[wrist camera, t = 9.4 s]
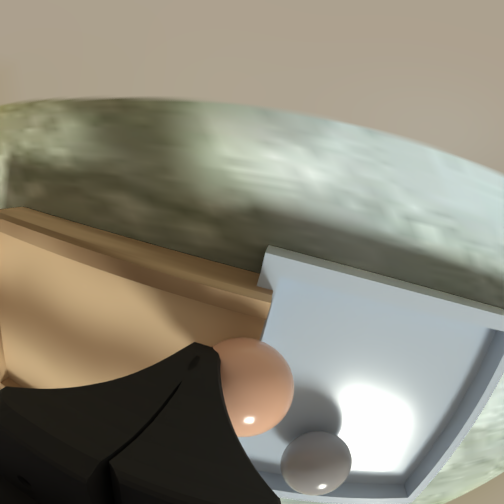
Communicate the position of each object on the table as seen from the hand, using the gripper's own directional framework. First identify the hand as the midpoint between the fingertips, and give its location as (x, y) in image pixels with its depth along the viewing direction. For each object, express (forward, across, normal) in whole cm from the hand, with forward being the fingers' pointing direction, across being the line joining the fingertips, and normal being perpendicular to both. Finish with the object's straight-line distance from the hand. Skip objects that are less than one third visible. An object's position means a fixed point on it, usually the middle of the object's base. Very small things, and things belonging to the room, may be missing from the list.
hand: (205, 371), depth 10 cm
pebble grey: (+2, -6, +5) cm, 8 cm away
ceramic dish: (+4, -7, +3) cm, 9 cm away
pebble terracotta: (0, -1, 0) cm, 1 cm away
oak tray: (+4, +6, +3) cm, 7 cm away
